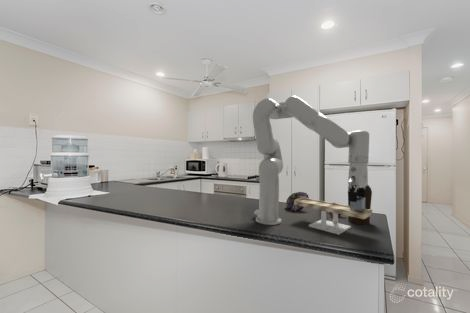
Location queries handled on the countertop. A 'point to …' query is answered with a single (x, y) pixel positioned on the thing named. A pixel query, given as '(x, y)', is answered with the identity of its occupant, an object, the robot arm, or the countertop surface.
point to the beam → (331, 207)
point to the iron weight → (358, 205)
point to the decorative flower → (291, 199)
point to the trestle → (329, 224)
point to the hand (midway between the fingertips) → (356, 200)
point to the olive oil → (367, 206)
